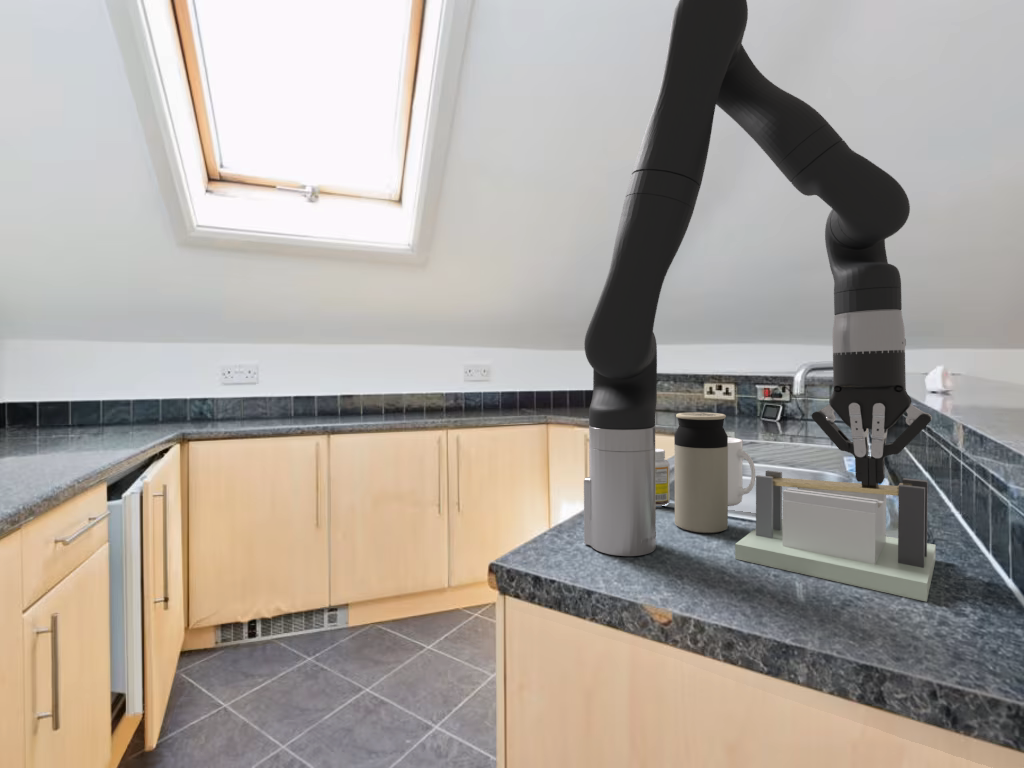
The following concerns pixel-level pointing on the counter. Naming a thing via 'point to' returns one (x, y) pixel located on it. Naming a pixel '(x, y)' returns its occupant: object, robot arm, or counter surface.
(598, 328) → the robot arm
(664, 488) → the supplement bottle
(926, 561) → the board
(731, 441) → the mug
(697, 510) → the travel mug
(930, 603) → the counter surface
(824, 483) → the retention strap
